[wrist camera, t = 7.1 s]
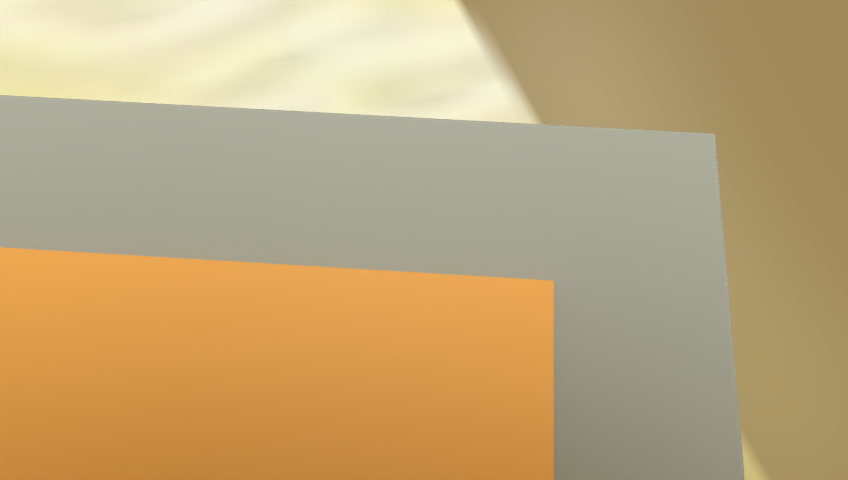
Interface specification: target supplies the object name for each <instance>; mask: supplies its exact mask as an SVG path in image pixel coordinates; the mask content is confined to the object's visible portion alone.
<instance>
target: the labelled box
mask: <svg viewBox="0 0 848 480" xmlns="http://www.w3.org/2000/svg"><path fill="white" fill-rule="evenodd" d="M0 480H744V469H743V457H742V445H741V434H740V422H739V411H738V399H737V388H736V376H735V364H734V354H733V341H732V330H731V319H730V307H729V295H728V284H727V272H726V261H725V250H724V237H723V226H722V214H721V204H720V191H719V179H718V168H717V156H716V145H715V135H714V134H707V133H706V134H705V133H687V132H670V131H651V130H634V129H615V128H614V129H613V128H595V127H578V126H560V125H541V124H523V123H504V122H486V121H467V120H449V119H431V118H412V117H394V116H375V115H357V114H338V113H320V112H301V111H283V110H264V109H246V108H227V107H209V106H191V105H172V104H154V103H135V102H117V101H98V100H80V99H61V98H43V97H24V96H6V95H0Z"/></svg>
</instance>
